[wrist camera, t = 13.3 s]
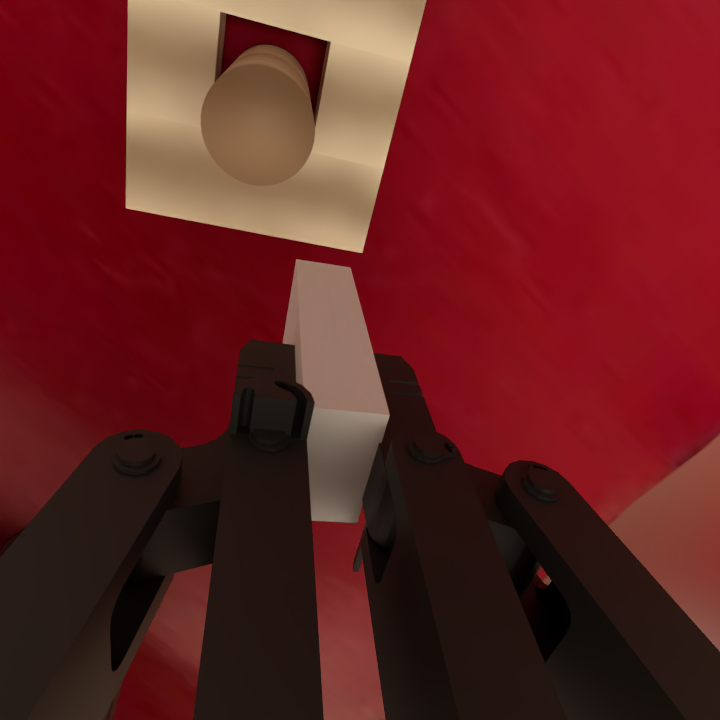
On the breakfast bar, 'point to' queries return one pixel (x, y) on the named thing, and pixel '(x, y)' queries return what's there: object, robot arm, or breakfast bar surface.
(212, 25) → the board
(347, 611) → the breakfast bar surface
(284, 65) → the peg
